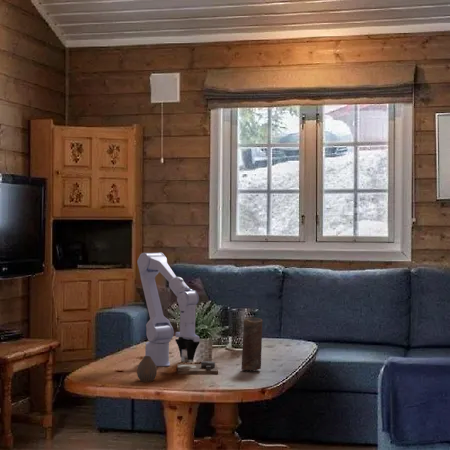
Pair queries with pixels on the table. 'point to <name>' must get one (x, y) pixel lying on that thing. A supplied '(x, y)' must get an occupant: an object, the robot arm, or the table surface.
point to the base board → (198, 368)
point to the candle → (252, 344)
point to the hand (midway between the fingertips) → (187, 358)
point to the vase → (146, 369)
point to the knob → (185, 356)
